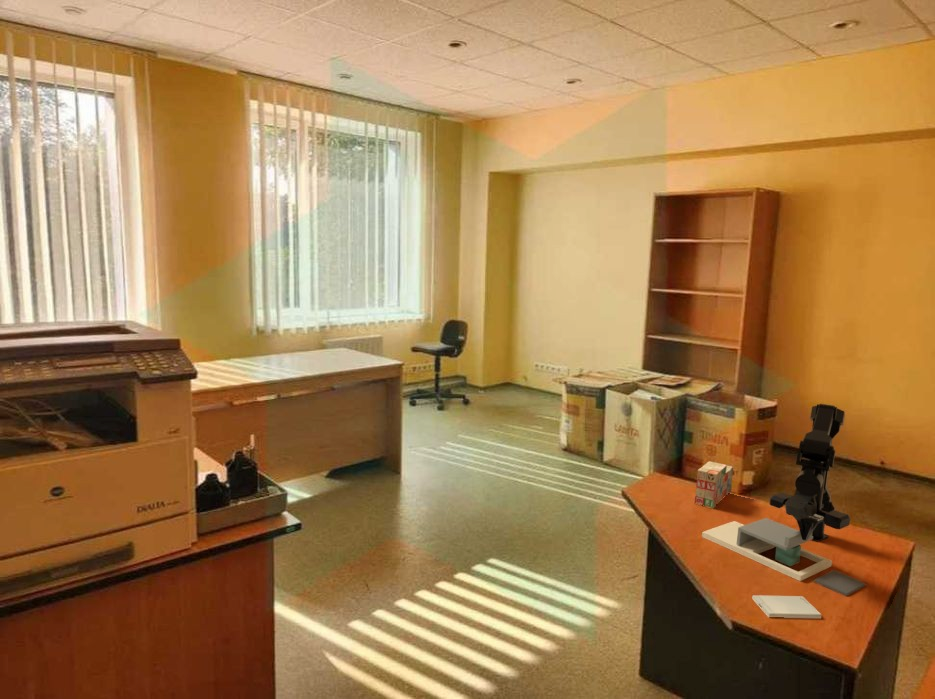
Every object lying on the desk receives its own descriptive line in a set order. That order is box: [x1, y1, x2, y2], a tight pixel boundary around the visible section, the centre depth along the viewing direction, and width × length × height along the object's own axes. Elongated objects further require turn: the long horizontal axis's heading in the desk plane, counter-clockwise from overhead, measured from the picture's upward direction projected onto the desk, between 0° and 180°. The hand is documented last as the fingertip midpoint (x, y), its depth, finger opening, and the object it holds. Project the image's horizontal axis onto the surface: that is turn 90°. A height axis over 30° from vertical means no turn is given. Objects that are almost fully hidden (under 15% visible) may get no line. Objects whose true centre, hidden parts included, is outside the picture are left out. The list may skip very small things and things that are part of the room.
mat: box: [813, 569, 867, 597], centre depth 163 cm, size 10×8×1 cm
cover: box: [737, 517, 813, 550], centre depth 177 cm, size 14×14×8 cm
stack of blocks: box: [694, 460, 734, 509], centre depth 218 cm, size 21×6×12 cm, turn 143°
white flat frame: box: [701, 520, 833, 582], centre depth 179 cm, size 16×30×2 cm, turn 34°
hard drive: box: [751, 594, 822, 620], centre depth 150 cm, size 2×8×12 cm
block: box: [774, 544, 802, 567], centre depth 174 cm, size 4×4×5 cm
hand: (804, 540), depth 170 cm, fingers closed
